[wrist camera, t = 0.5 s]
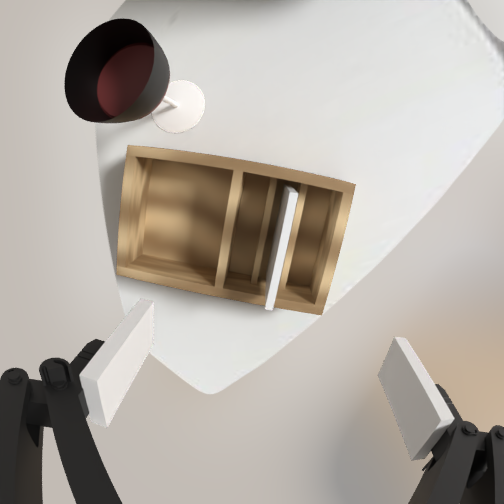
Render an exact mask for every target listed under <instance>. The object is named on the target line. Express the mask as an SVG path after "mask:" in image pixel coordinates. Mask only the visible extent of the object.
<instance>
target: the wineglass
mask: <svg viewBox="0 0 504 504" xmlns="http://www.w3.org/2000/svg"><path fill="white" fill-rule="evenodd" d="M169 79H170V70H169V64H168V60H167V58H166V56H165V54H164V52H163V50H162V48H161V47H160V45H159V44H158V42H157V41H156V40H155V38H154V37H153V36H152V34H151V33H150V32H149V31H148V30H147V29H146V28H145V27H144V26H143V25H142V24H140V23H138V22H137V21H134V20H131V19H115V20H111V21H108V22H105V23H103V24H101V25H99V26H98V27H96V28H95V29H93V30H92V31H91V32H89V33H88V34H87V35H86V36H85V37H84V38H83V40H82V41H81V42H80V43H79V45H78V46H77V47H76V49H75V51H74V52H73V54H72V56H71V58H70V61H69V63H68V66H67V70H66V74H65V94H66V98H67V102H68V104H69V106H70V108H71V109H72V110H73V112H74V113H75V114H76V115H77V116H79V117H80V118H82V119H84V120H86V121H90V122H97V123H122V122H129V121H134V120H137V119H141V118H143V117H145V116H147V115H148V114H150V113H151V112H152V117H153V119H154V122H155V123H156V124H157V125H158V126H159V128H161V129H163V130H164V131H166V132H171V133H180V132H184V131H187V130H189V129H191V128H192V127H193V126H195V125H196V124H197V123H198V122H199V120H200V119H201V117H202V115H203V112H204V109H205V98H204V95H203V93H202V91H201V90H200V88H199V87H198V86H197V85H195V84H194V83H192V82H190V81H185V80H177V81H172V82H170V83H169Z"/></svg>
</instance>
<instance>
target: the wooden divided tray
mask: <svg viewBox="0 0 504 504" xmlns="http://www.w3.org/2000/svg"><path fill="white" fill-rule="evenodd" d="M284 184H288V185H291V186H292V187H293V188H294V189H295V191H296V192H297V193H298V198H297V203H296V208H295V213H294V217H293V222H292V227H291V232H290V236H289V241H288V245H287V250H286V254H285V259H284V263H283V268H282V272H281V277H280V281H279V285H278V290H277V294H276V298H275V303H274V307H275V308H281V309H287V310H293V311H299V312H305V313H311V314H317V315H322V313H323V310H324V306H325V303H326V300H327V296H328V293H329V289H330V286H331V282H332V279H333V275H334V271H335V268H336V264H337V260H338V257H339V253H340V249H341V245H342V241H343V237H344V233H345V229H346V225H347V221H348V217H349V212H350V208H351V204H352V199H353V195H354V190H355V186H356V184H353V183H349V182H346V181H342V180H338V179H334V178H330V177H325V176H321V175H316V174H312V173H307V172H303V171H298V170H293V169H288V168H283V167H278V166H273V165H268V164H263V163H257V162H252V161H246V160H240V159H234V158H228V157H222V156H216V155H209V154H202V153H195V152H188V151H180V150H172V149H164V148H155V147H145V146H132V145H128V147H127V153H126V161H125V168H124V176H123V185H122V194H121V205H120V216H119V230H118V247H117V275H120V276H125V277H129V278H133V279H137V280H142V281H146V282H150V283H155V284H159V285H164V286H168V287H173V288H178V289H182V290H187V291H192V292H197V293H202V294H206V295H211V296H216V297H221V298H227V299H232V300H237V301H242V302H248V303H253V304H258V305H264V306H265V286H266V269H267V265H268V260H269V255H270V250H271V245H272V240H273V235H274V231H275V226H276V221H277V216H278V211H279V206H280V201H281V196H282V191H283V186H284Z"/></svg>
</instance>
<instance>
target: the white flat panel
mask: <svg viewBox="0 0 504 504" xmlns="http://www.w3.org/2000/svg"><path fill="white" fill-rule="evenodd" d="M297 198H298V193H297V192H296V191H295V189H294V188H293V187H292V186H291V185H288V184H284V186H283V191H282V196H281V201H280V206H279V211H278V216H277V221H276V226H275V231H274V235H273V240H272V245H271V250H270V255H269V260H268V265H267V269H266V286H265V309H266V310H271V311H273V307H274V303H275V298H276V294H277V290H278V285H279V281H280V277H281V272H282V268H283V263H284V259H285V254H286V250H287V245H288V241H289V236H290V232H291V227H292V222H293V217H294V213H295V208H296V203H297Z"/></svg>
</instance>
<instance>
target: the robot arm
mask: <svg viewBox="0 0 504 504" xmlns="http://www.w3.org/2000/svg"><path fill="white" fill-rule="evenodd" d="M153 344H154V301H150V300H145V299H140V300H139V301H138V302H137V304H136V305H135V306H134V307H133V308H132V310H131V311H130V312H129V313H128V314H127V316H126V317H125V318H124V319H123V321H122V322H121V323H120V324H119V325H118V327H117V328H116V329H115V330H114V331H113V333H112V334H111V335H110V336H109V338H108V339H107V340H106V341H101V340H98V339H95V340H93V341H91V342H89V343H87V345H86V346H85V347H84V348H83V349H82V351H81V352H80V353H79V354H78V355H77V356H76V357H75V359H74V360H73V361H72V362H71V363H70V364H69V363H68V362H67V361H66V360H64V359H61V358H50V359H47V360H45V361H44V362H43V363H42V364H41V365H40V368H39V372H40V375H41V379H42V381H40V380H33V379H29V377H28V374H27V373H26V371H24V370H23V369H20V368H11V369H9V370H7V371H5V372H4V373H3V375H2V376H1V379H0V504H43V500H42V446H43V429H44V427H51V428H53V432H54V436H55V440H56V443H57V447H58V450H59V454H60V457H61V461H62V464H63V467H64V470H65V473H66V476H67V479H68V482H69V485H70V488H71V491H72V493H73V496H74V498H75V501H76V504H122V502H121V500H120V498H119V497H118V494H117V492H116V490H115V488H114V486H113V484H112V482H111V480H110V478H109V476H108V473H107V471H106V469H105V467H104V465H103V462H102V460H101V457H100V455H99V452H98V450H97V448H96V445H95V442H94V440H93V438H92V435H91V432H90V429H89V427H88V424H87V421H86V418H87V416H88V414H89V416H90V419H91V422H92V423H95V424H98V425H101V426H103V427H106V428H107V427H108V426H109V424H110V422H111V420H112V418H113V416H114V414H115V412H116V411H117V409H118V407H119V405H120V403H121V401H122V400H123V398H124V396H125V394H126V392H127V390H128V389H129V387H130V385H131V383H132V382H133V380H134V378H135V376H136V374H137V373H138V371H139V369H140V367H141V366H142V364H143V362H144V360H145V358H146V357H147V355H148V353H149V351H150V350H151V348H152V346H153ZM378 377H379V379H380V382H381V384H382V386H383V388H384V391H385V393H386V396H387V398H388V400H389V403H390V406H391V408H392V411H393V413H394V416H395V418H396V421H397V423H398V426H399V428H400V431H401V434H402V437H403V439H404V442H405V445H406V447H407V450H408V452H409V455H410V458H411V460H418V459H425V457H426V456H427V455H428V454H429V452H430V451H432V454H433V457H432V458H431V460H430V461H429V462H428V463H427V464H426V466H425V467H424V468H423V469H422V470H423V471H424V470H425V469H426V470H425V472H424V474H423V476H422V478H421V480H420V483H419V484H418V486H417V488H416V490H415V492H414V494H413V496H412V498H411V499H410V502H409V503H408V504H459V503H460V504H504V427H502V426H497V425H496V426H494V427H493V428H492V429H491V430H490V432H489V433H487V432H479V431H478V428H477V427H476V426H475V425H474V424H472V423H471V422H468V421H463V420H462V418H461V417H460V415H459V413H458V411H457V410H456V408H455V406H454V405H453V404H452V401H451V399H450V398H449V396H448V395H447V393H446V392H445V390H444V389H443V388H442V387H441V386H440V385H438V384H434V382H433V381H432V379H431V377H430V376H429V374H428V372H427V371H426V369H425V368H424V366H423V364H422V363H421V361H420V360H419V358H418V356H417V355H416V353H415V352H414V350H413V349H412V347H411V345H410V344H409V342H408V341H407V339H406V338H402V337H394V339H393V341H392V344H391V346H390V349H389V351H388V354H387V356H386V358H385V360H384V363H383V365H382V367H381V369H380V372H379V374H378Z"/></svg>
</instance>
